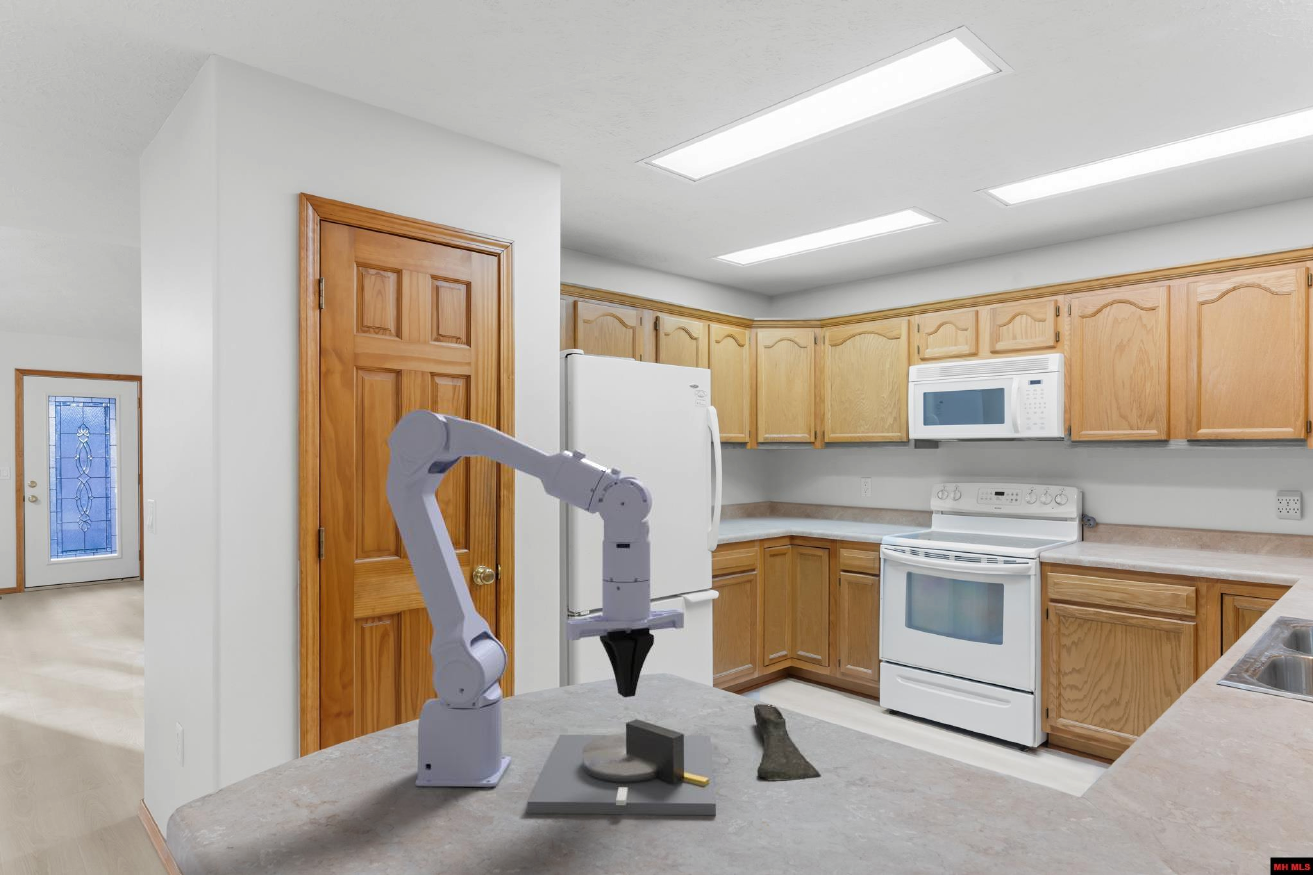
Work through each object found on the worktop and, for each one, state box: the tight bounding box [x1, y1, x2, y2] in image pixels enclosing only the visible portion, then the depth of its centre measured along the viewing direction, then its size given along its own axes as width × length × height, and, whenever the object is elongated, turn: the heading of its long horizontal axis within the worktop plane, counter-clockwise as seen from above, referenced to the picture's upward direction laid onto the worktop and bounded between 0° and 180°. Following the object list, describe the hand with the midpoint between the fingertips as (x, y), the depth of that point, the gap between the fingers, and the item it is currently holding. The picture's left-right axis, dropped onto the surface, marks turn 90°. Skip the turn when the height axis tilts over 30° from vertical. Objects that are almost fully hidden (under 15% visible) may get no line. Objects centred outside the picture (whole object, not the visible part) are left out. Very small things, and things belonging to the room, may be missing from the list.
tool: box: [753, 703, 822, 782], centre depth 98 cm, size 21×8×3 cm, turn 3°
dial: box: [582, 718, 685, 784], centre depth 88 cm, size 14×11×5 cm
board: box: [527, 734, 717, 816], centre depth 89 cm, size 20×21×2 cm
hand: (626, 694), depth 88 cm, fingers closed
